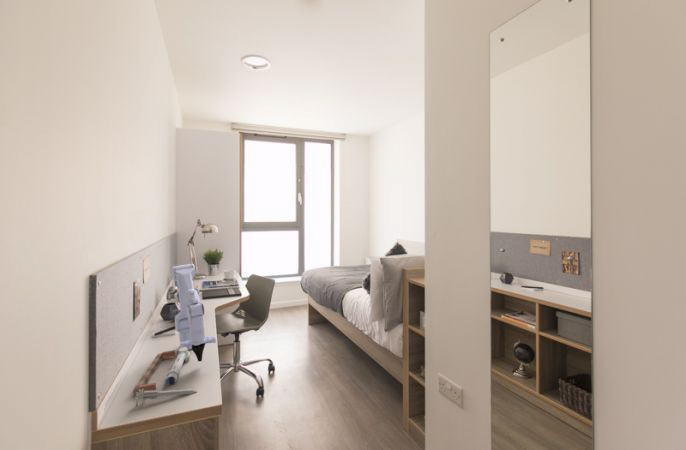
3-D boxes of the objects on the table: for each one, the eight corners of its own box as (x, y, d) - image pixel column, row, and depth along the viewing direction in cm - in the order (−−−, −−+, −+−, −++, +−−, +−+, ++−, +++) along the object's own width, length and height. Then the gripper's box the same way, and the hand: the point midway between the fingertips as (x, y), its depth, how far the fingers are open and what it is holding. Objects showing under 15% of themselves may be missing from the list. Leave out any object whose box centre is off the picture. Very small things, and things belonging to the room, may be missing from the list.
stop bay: (158, 358, 160) (157, 352, 160) (175, 356, 162) (175, 350, 161) (134, 395, 129) (133, 388, 129) (155, 391, 131) (154, 384, 130)
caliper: (136, 407, 121) (134, 391, 121) (136, 406, 122) (134, 389, 122) (197, 392, 129) (195, 377, 128) (197, 391, 130) (195, 375, 129)
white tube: (162, 377, 134) (178, 344, 158) (165, 392, 135) (180, 357, 159) (176, 375, 135) (190, 342, 159) (179, 390, 136) (191, 355, 160)
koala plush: (200, 312, 227) (197, 284, 226) (208, 319, 213) (205, 288, 212) (172, 319, 217) (169, 289, 215) (179, 326, 202) (175, 294, 201)
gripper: (177, 336, 142) (180, 367, 143) (213, 331, 146) (216, 361, 147) (181, 330, 149) (184, 360, 150) (215, 325, 153) (218, 354, 154)
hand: (200, 360), depth 149 cm, fingers closed
